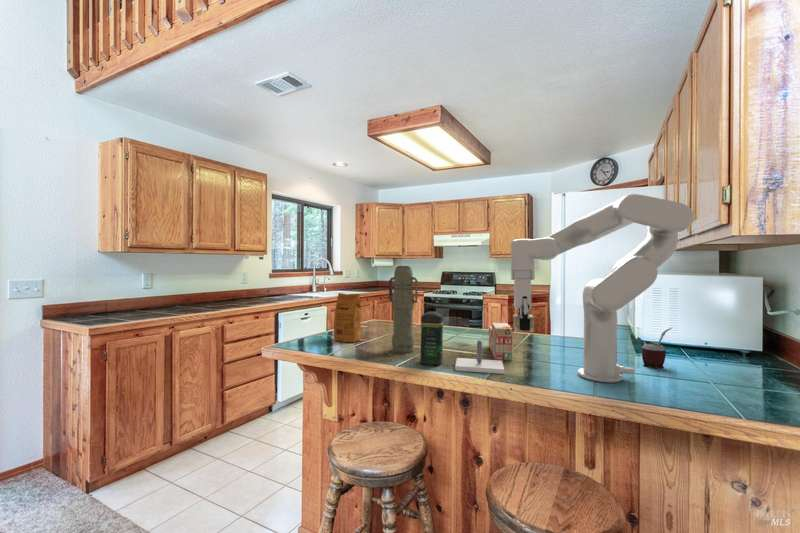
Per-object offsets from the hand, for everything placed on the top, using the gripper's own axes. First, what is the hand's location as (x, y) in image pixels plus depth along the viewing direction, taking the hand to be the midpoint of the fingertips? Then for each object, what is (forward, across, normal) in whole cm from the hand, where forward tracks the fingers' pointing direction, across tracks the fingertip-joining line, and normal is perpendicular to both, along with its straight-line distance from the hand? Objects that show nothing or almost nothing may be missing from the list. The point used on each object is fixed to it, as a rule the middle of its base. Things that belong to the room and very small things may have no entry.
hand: (523, 328), depth 126 cm
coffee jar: (+14, -3, -32) cm, 35 cm away
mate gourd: (+16, -16, +46) cm, 51 cm away
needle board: (+14, 0, -15) cm, 21 cm away
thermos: (+13, -18, -46) cm, 51 cm away
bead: (+1, 0, 0) cm, 1 cm away
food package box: (+15, -23, -7) cm, 28 cm away
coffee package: (+13, -31, -75) cm, 82 cm away
